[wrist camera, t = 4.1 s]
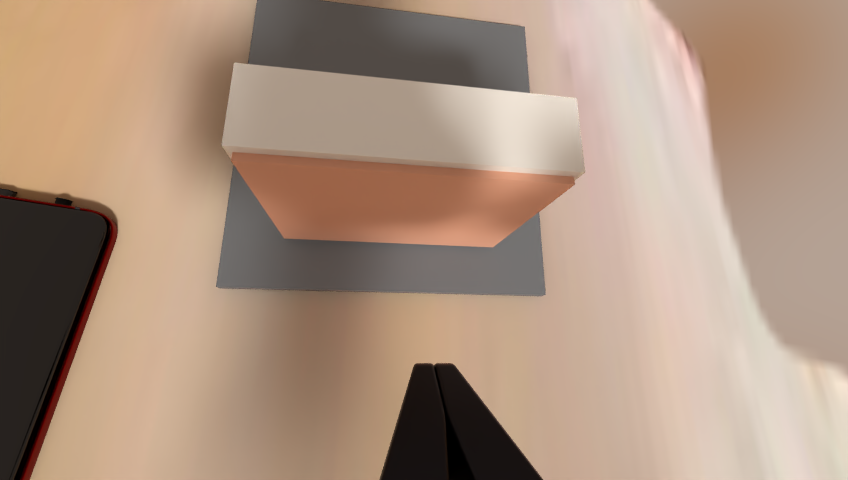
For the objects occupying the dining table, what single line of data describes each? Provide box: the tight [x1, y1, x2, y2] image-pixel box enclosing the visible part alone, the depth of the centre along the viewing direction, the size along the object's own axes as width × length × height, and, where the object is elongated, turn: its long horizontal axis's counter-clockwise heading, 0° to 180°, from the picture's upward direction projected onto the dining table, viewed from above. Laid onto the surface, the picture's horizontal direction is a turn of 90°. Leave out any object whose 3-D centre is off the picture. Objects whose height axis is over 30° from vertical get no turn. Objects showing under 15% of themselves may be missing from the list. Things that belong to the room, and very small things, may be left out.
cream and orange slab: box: [221, 63, 585, 247], centre depth 18 cm, size 3×12×10 cm, turn 90°
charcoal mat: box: [216, 0, 545, 296], centre depth 25 cm, size 19×18×1 cm
